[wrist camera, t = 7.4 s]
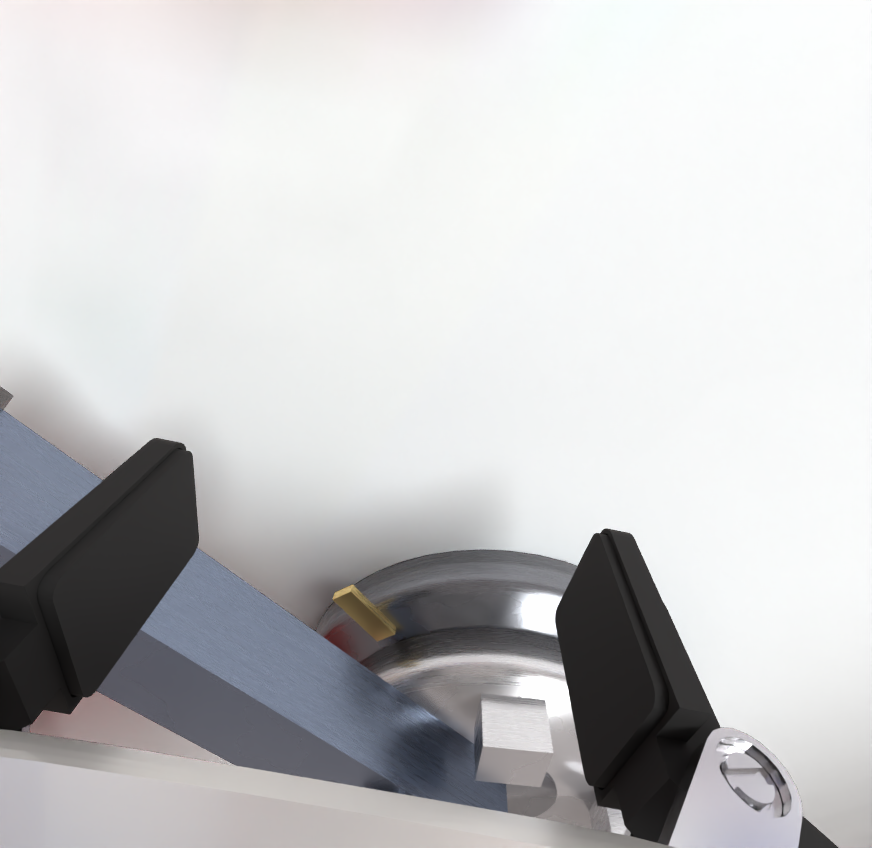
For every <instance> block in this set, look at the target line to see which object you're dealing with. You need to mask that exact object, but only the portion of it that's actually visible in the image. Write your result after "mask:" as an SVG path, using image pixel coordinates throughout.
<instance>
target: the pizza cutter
mask: <svg viewBox="0 0 872 848" xmlns="http://www.w3.org/2000/svg"><path fill="white" fill-rule="evenodd" d="M12 397H13V395H11V394H10V393H9V392H7V391H6V390H5V389H3V388H2V387H0V568H1V567H2V566H3V565H4V564H6V563H7V562H8V561H9V560H10V559H11V558H13V557H14V556H15V555H16V554H17V553H18V552H20V551H21V550H22V549H23V548H24V547H26V546H27V545H28V544H29V543H30V542H31V541H33V540H34V539H35V538H36V537H37V536H38V535H40V534H41V533H42V532H43V531H44V530H46V529H47V528H48V527H49V526H50V525H51V524H53V523H54V522H55V521H56V520H57V519H58V518H60V517H61V516H62V515H63V514H64V513H66V512H67V511H68V510H69V509H70V508H71V507H73V506H74V505H75V504H76V503H77V502H78V501H80V500H81V499H82V498H83V497H84V496H86V495H87V494H88V493H89V492H90V491H91V490H93V489H94V488H95V487H96V486H97V485H99V484H100V483H101V482H102V481H103V480H101V479H100V478H98V477H97V476H95V475H94V474H93V473H91V472H90V471H88V470H87V469H86V468H84V467H83V466H81V465H80V464H79V463H77V462H76V461H74V460H73V459H71V458H70V457H69V456H67V455H66V454H64V453H63V452H62V451H60V450H59V449H57V448H56V447H55V446H53V445H52V444H50V443H49V442H48V441H46V440H45V439H43V438H42V437H40V436H39V435H38V434H36V433H35V432H33V431H32V430H31V429H29V428H28V427H26V426H25V425H24V424H22V423H21V422H19V421H18V420H17V419H15V418H14V417H12V416H11V415H9V414H8V413H7V412H5V411H4V408H5V407H6V406H7V404H8V403H9V401H10V400H11V399H12ZM96 691H97V692H99V693H101V694H103V695H105V696H107V697H109V698H111V699H112V700H114V701H116V702H118V703H120V704H122V705H124V706H126V707H127V708H129V709H131V710H133V711H135V712H137V713H139V714H141V715H142V716H144V717H146V718H148V719H150V720H152V721H154V722H155V723H157V724H159V725H161V726H163V727H165V728H167V729H169V730H170V731H172V732H174V733H176V734H178V735H180V736H182V737H184V738H185V739H187V740H189V741H191V742H193V743H195V744H197V745H199V746H200V747H202V748H204V749H206V750H208V751H210V752H212V753H213V754H215V755H217V756H219V757H221V758H223V759H225V760H227V761H228V762H230V763H232V764H234V765H236V766H241V767H247V768H253V769H259V770H264V771H270V772H276V773H282V774H288V775H294V776H299V777H305V778H311V779H317V780H323V781H329V782H335V783H340V784H346V785H352V786H358V787H364V788H369V789H375V790H381V791H387V792H393V793H398V794H404V795H410V796H416V797H421V798H427V799H433V800H438V801H444V802H450V803H455V804H461V805H467V806H472V807H478V808H484V809H489V810H495V811H500V812H506V813H512V814H517V815H523V816H529V817H534V818H540V819H546V820H551V821H556V822H561V823H566V824H571V825H576V826H581V827H586V828H591V829H596V830H601V831H606V832H612V833H617V834H622V835H624V833H625V830H626V827H625V825H624V821H623V817H622V813H621V810H618V809H612V808H606V807H601V806H597V802H596V797H595V792H594V787H593V786H589V785H588V783H587V782H586V779H585V776H584V772H583V766H582V761H581V756H580V751H579V745H578V740H577V735H576V730H575V724H574V719H573V714H572V709H571V703H570V698H569V693H568V688H567V682H566V677H565V672H564V667H563V662H562V656H561V651H560V646H559V641H558V638H553V637H549V636H545V635H541V634H536V633H531V632H523V631H516V630H508V629H489V628H480V629H458V630H449V631H441V632H435V633H430V634H425V635H421V636H416V637H413V638H410V639H406V640H403V641H400V642H397V643H394V644H392V645H390V646H388V647H385V648H383V649H381V650H379V651H377V652H375V653H373V654H372V655H370V656H369V657H367V658H365V659H364V660H362V661H361V662H360V663H359V662H358V661H356V660H355V659H353V658H352V657H351V656H349V655H348V654H346V653H345V652H344V651H342V650H341V649H339V648H338V647H336V646H335V645H334V644H332V643H331V642H329V641H328V640H327V639H325V638H324V637H322V636H321V635H320V634H318V633H317V632H315V631H314V630H312V629H311V628H310V627H308V626H307V625H305V624H304V623H303V622H301V621H300V620H298V619H297V618H296V617H294V616H293V615H291V614H290V613H289V612H287V611H286V610H284V609H283V608H281V607H280V606H279V605H277V604H276V603H274V602H273V601H272V600H270V599H269V598H267V597H266V596H265V595H263V594H262V593H260V592H259V591H258V590H256V589H255V588H253V587H252V586H250V585H249V584H248V583H246V582H245V581H243V580H242V579H241V578H239V577H238V576H236V575H235V574H234V573H232V572H231V571H229V570H228V569H227V568H225V567H224V566H222V565H221V564H219V563H218V562H217V561H215V560H214V559H212V558H211V557H210V556H208V555H207V554H205V553H204V552H203V551H201V550H200V549H198V548H197V549H196V551H195V553H194V555H193V556H192V558H191V559H190V560H189V562H188V563H187V565H186V566H185V567H184V569H183V570H182V572H181V573H180V574H179V576H178V577H177V579H176V580H175V581H174V583H173V584H172V586H171V587H170V588H169V590H168V591H167V593H166V594H165V595H164V597H163V598H162V600H161V601H160V602H159V604H158V605H157V607H156V608H155V609H154V611H153V612H152V614H151V615H150V616H149V618H148V619H147V621H146V622H145V623H144V625H143V626H142V628H141V629H140V630H139V632H138V633H137V635H136V636H135V637H134V639H133V640H132V642H131V643H130V644H129V646H128V647H127V649H126V650H125V651H124V653H123V654H122V656H121V657H120V658H119V660H118V661H117V663H116V664H115V665H114V667H113V668H112V670H111V671H110V672H109V674H108V675H107V677H106V678H105V679H104V681H103V682H102V684H101V685H100V686H99V688H98V689H97V690H96Z"/></svg>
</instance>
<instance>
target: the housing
mask: <svg viewBox="0 0 872 848" xmlns="http://www.w3.org/2000/svg"><path fill="white" fill-rule="evenodd" d="M576 568H577V566H576V565H573V564H570V563H568V562H565V561H561V560H557V559H552V558H548V557H544V556H540V555H535V554H527V553H520V552H513V551H497V550H470V551H453V552H447V553H440V554H434V555H427V556H423V557H420V558H416V559H412V560H408V561H404V562H401V563H398V564H396V565H393V566H391V567H388V568H385V569H383V570H380V571H378V572H376V573H374V574H372V575H371V576H369V577H367V578H365V579H363V580H361V581H359V582H358V583H357V584H355V585H353V584H352V585H350V586H348V587H346V588H343V589H341V590H339V591H337V592H335V593H334V596H333V599H332V600H333V601H334V603H333V604H332V605H331V606H330V607H329V608H328V610H327V611H326V613H325V614H324V615H323V617H322V618H321V620H320V622H319V624H318V626H317V628H316V630H315V632H317V633H318V634H320V635H321V636H322V637H324V638H325V639H327V640H328V641H329V642H331V643H332V644H334V645H335V646H336V647H338V648H339V649H341V650H342V651H344V652H345V653H346V654H348V655H349V656H351V657H352V658H353V659H355V660H356V661H358V662H359V663H360V662H361V661H362V660H364V659H365V658H367V657H369V656H370V655H372V654H373V653H375V652H377V651H379V650H381V649H383V648H385V647H388V646H390V645H392V644H394V643H397V642H400V641H403V640H406V639H410V638H413V637H416V636H421V635H425V634H430V633H435V632H441V631H449V630H458V629H480V628H489V629H508V630H516V631H523V632H531V633H536V634H541V635H545V636H549V637H553V638H558V635H557V630H556V625H555V613H556V609H557V606H558V604H559V602H560V600H561V598H562V596H563V594H564V592H565V590H566V588H567V586H568V584H569V582H570V580H571V578H572V576H573V574H574V572H575V570H576Z"/></svg>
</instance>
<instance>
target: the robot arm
mask: <svg viewBox="0 0 872 848" xmlns="http://www.w3.org/2000/svg"><path fill="white" fill-rule="evenodd" d="M198 542H199V533H198V520H197V507H196V494H195V481H194V468H193V456H192V453H191V452H190V451H186V447H185V445H184V444H182V443H179V442H174V441H169V440H164V439H159V438H154V439H152V440H150V441H149V442H148V443H147V444H146V445H144V446H143V447H142V448H141V449H140V450H139V451H137V452H136V453H135V454H134V455H133V456H131V457H130V458H129V459H128V460H127V461H126V462H124V463H123V464H122V465H121V466H120V467H119V468H117V469H116V470H115V471H114V472H113V473H111V474H110V475H109V476H108V477H107V478H106V479H104V480H103V481H102V482H101V483H100V484H99V485H97V486H96V487H95V488H94V489H93V490H91V491H90V492H89V493H88V494H87V495H86V496H84V497H83V498H82V499H81V500H80V501H78V502H77V503H76V504H75V505H74V506H73V507H71V508H70V509H69V510H68V511H67V512H66V513H64V514H63V515H62V516H61V517H60V518H58V519H57V520H56V521H55V522H54V523H53V524H51V525H50V526H49V527H48V528H47V529H46V530H44V531H43V532H42V533H41V534H40V535H38V536H37V537H36V538H35V539H34V540H33V541H31V542H30V543H29V544H28V545H27V546H26V547H24V548H23V549H22V550H21V551H20V552H18V553H17V554H16V555H15V556H14V557H13V558H11V559H10V560H9V561H8V562H7V563H6V564H4V565H3V566H2V567H1V568H0V848H838V847H837V846H836V845H835V844H834V843H833V842H831V841H830V840H829V839H828V838H827V837H826V836H825V835H824V834H822V833H821V832H820V831H819V830H818V829H817V828H816V827H815V826H813V825H812V824H811V823H810V822H809V821H808V820H807V819H806V818H804V817H803V812H802V801H801V798H800V795H799V792H798V790H797V787H796V785H795V783H794V781H793V780H792V778H791V776H790V775H789V773H788V771H787V770H786V769H785V767H784V766H783V765H782V764H781V762H780V761H779V760H778V759H777V758H776V756H775V755H774V754H773V753H772V752H770V751H769V750H768V749H767V748H766V747H765V746H764V745H763V744H762V743H760V742H759V741H757V740H756V739H754V738H753V737H751V736H750V735H748V734H746V733H744V732H741V731H739V730H736V729H734V728H724V727H720V725H719V723H718V721H717V719H716V716H715V714H714V712H713V710H712V708H711V705H710V703H709V701H708V699H707V696H706V694H705V692H704V690H703V688H702V685H701V683H700V681H699V679H698V677H697V674H696V672H695V670H694V668H693V665H692V663H691V661H690V659H689V657H688V654H687V652H686V650H685V648H684V646H683V643H682V641H681V639H680V637H679V634H678V632H677V630H676V628H675V626H674V623H673V621H672V619H671V617H670V615H669V612H668V610H667V608H666V606H665V605H664V603H663V601H662V599H661V597H660V595H659V592H658V590H657V588H656V586H655V583H654V581H653V579H652V577H651V575H650V572H649V570H648V568H647V566H646V563H645V561H644V559H643V557H642V555H641V552H640V550H639V548H638V546H637V543H636V541H635V539H634V537H633V536H632V534H630V533H626V532H621V531H616V530H611V529H604V530H602V532H601V533H600V534H599V533H595V534H594V535H593V537H592V539H591V541H590V543H589V545H588V547H587V548H586V550H585V552H584V554H583V556H582V558H581V560H580V562H579V564H578V566H577V568H576V570H575V572H574V574H573V576H572V578H571V580H570V582H569V584H568V586H567V588H566V590H565V592H564V594H563V596H562V598H561V600H560V602H559V604H558V606H557V609H556V613H555V625H556V630H557V635H558V641H559V646H560V651H561V656H562V662H563V667H564V672H565V677H566V682H567V688H568V693H569V698H570V703H571V709H572V714H573V719H574V724H575V730H576V735H577V740H578V745H579V751H580V756H581V761H582V766H583V772H584V776H585V779H586V782H587V783H588V785H589V786H593V787H594V792H595V797H596V802H597V806H601V807H606V808H612V809H618V810H621V813H622V817H623V821H624V825H625V827H626V830H625V833H624V835H622V834H617V833H612V832H606V831H601V830H596V829H591V828H586V827H581V826H576V825H571V824H566V823H561V822H556V821H551V820H546V819H540V818H534V817H529V816H523V815H517V814H512V813H506V812H500V811H495V810H489V809H484V808H478V807H472V806H467V805H461V804H455V803H450V802H444V801H438V800H433V799H427V798H421V797H416V796H410V795H404V794H398V793H393V792H387V791H381V790H375V789H369V788H364V787H358V786H352V785H346V784H340V783H335V782H329V781H323V780H317V779H311V778H305V777H299V776H294V775H288V774H282V773H276V772H270V771H264V770H259V769H253V768H247V767H241V766H235V765H229V764H223V763H217V762H211V761H205V760H199V759H193V758H187V757H181V756H174V755H168V754H162V753H156V752H150V751H144V750H138V749H132V748H126V747H120V746H114V745H108V744H102V743H95V742H88V741H81V740H74V739H68V738H61V737H54V736H47V735H40V734H33V733H30V724H32V723H33V722H34V721H35V719H36V718H37V717H38V716H39V714H40V713H41V712H42V710H48V711H54V712H59V713H65V714H71V713H72V711H73V710H74V709H75V707H76V706H77V704H78V703H79V702H80V700H81V699H82V698H83V697H89V696H91V695H92V694H93V693H95V691H96V690H97V689H98V688H99V686H100V685H101V684H102V682H103V681H104V679H105V678H106V677H107V675H108V674H109V672H110V671H111V670H112V668H113V667H114V665H115V664H116V663H117V661H118V660H119V658H120V657H121V656H122V654H123V653H124V651H125V650H126V649H127V647H128V646H129V644H130V643H131V642H132V640H133V639H134V637H135V636H136V635H137V633H138V632H139V630H140V629H141V628H142V626H143V625H144V623H145V622H146V621H147V619H148V618H149V616H150V615H151V614H152V612H153V611H154V609H155V608H156V607H157V605H158V604H159V602H160V601H161V600H162V598H163V597H164V595H165V594H166V593H167V591H168V590H169V588H170V587H171V586H172V584H173V583H174V581H175V580H176V579H177V577H178V576H179V574H180V573H181V572H182V570H183V569H184V567H185V566H186V565H187V563H188V562H189V560H190V559H191V558H192V556H193V555H194V553H195V551H196V549H197V546H198Z"/></svg>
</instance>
